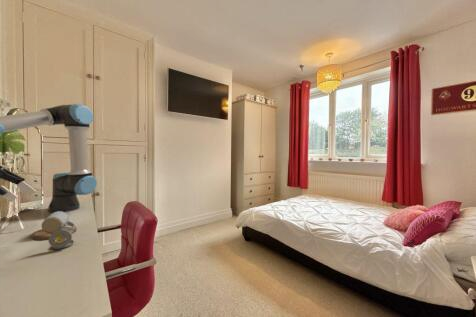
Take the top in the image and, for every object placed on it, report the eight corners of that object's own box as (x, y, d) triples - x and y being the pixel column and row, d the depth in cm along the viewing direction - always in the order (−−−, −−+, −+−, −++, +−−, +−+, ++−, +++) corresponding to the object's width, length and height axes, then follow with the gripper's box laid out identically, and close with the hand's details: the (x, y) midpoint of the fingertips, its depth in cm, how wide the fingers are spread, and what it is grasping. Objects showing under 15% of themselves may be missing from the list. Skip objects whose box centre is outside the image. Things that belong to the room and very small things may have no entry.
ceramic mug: (39, 235, 84) (40, 216, 84) (48, 228, 91) (48, 211, 91) (71, 232, 88) (72, 214, 88) (77, 226, 96) (77, 210, 96)
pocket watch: (69, 240, 82) (69, 216, 82) (79, 245, 78) (80, 220, 78) (42, 248, 75) (43, 222, 75) (52, 254, 71) (53, 226, 71)
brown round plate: (41, 229, 93) (41, 226, 93) (81, 225, 99) (81, 223, 99) (22, 242, 79) (22, 239, 79) (69, 237, 85) (69, 234, 85)
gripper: (-12, 164, 89) (31, 196, 95) (-69, 168, 66) (-6, 210, 72) (4, 153, 91) (46, 185, 97) (-44, 153, 68) (14, 195, 74)
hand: (24, 196), depth 85 cm, fingers open, 13 cm apart
